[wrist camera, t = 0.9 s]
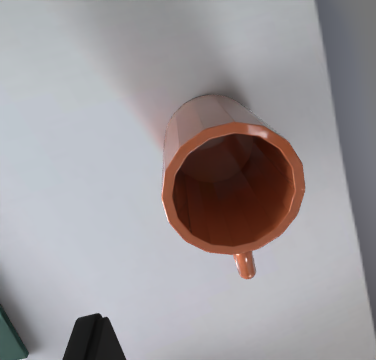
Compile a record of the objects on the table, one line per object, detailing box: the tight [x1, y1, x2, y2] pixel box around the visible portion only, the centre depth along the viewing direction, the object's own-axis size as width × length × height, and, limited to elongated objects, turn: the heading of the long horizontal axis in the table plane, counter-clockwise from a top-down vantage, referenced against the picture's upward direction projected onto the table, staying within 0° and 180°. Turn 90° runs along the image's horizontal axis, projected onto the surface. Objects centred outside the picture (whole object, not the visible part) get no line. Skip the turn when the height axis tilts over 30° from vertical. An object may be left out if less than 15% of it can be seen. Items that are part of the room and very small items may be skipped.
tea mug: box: [161, 95, 305, 279], centre depth 20 cm, size 10×7×9 cm
